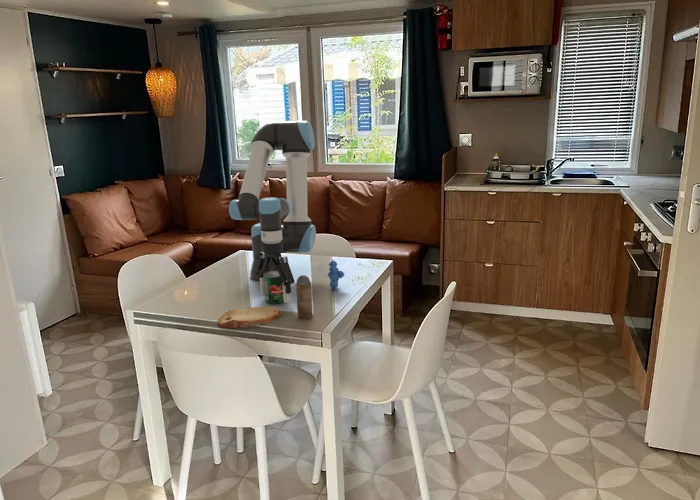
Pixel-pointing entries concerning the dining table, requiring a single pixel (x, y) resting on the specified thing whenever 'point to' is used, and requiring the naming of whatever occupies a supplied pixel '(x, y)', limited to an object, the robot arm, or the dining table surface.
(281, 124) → the robot arm
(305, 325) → the dining table surface
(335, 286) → the grapes
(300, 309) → the walnut pepper mill
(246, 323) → the bread slice
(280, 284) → the canned tomato
